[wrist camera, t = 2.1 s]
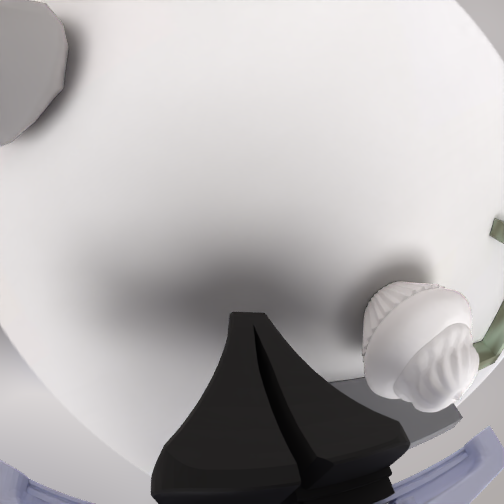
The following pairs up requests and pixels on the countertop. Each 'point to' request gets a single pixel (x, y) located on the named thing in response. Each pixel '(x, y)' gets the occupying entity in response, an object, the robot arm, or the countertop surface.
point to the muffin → (419, 345)
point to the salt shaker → (28, 64)
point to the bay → (500, 331)
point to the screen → (402, 411)
